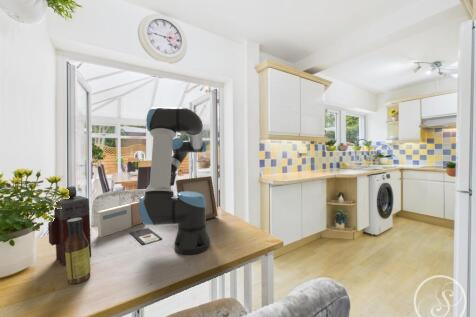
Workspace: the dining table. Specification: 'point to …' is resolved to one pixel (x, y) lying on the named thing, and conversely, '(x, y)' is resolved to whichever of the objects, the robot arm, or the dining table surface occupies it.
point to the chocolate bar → (145, 236)
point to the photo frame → (202, 187)
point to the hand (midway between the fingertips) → (154, 193)
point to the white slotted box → (114, 219)
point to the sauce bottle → (77, 252)
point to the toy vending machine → (59, 228)
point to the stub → (135, 213)
